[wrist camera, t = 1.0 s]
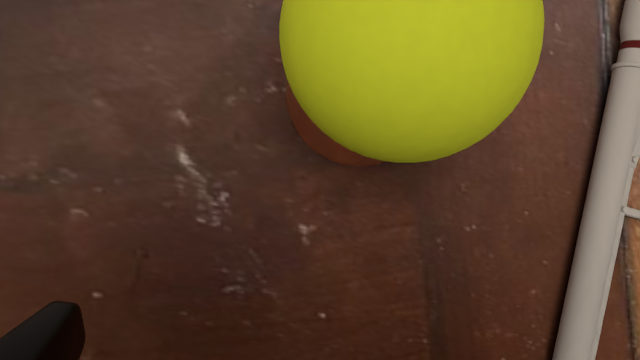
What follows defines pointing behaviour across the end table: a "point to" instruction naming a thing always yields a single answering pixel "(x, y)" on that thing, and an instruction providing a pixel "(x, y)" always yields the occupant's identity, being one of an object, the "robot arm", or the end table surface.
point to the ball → (409, 70)
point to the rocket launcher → (605, 201)
